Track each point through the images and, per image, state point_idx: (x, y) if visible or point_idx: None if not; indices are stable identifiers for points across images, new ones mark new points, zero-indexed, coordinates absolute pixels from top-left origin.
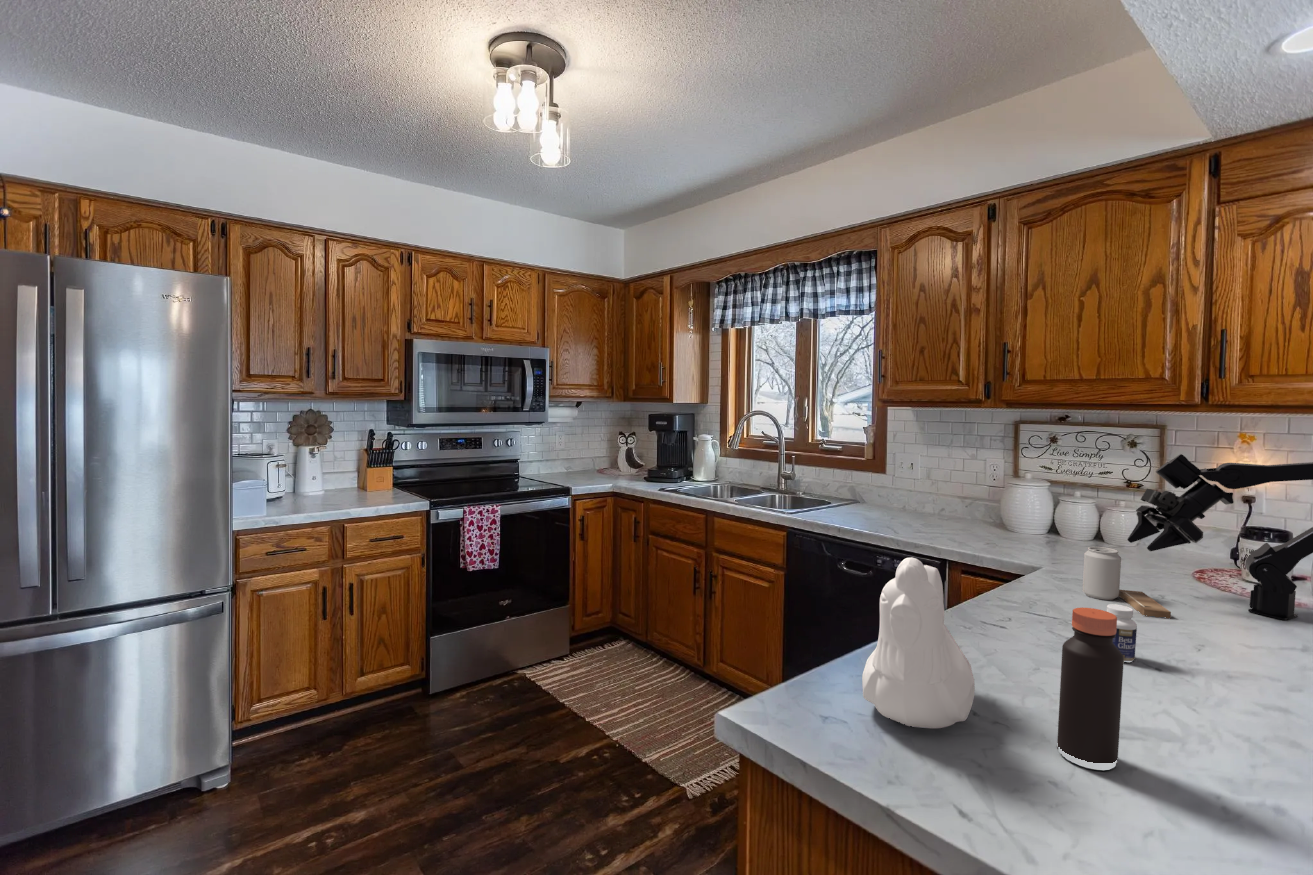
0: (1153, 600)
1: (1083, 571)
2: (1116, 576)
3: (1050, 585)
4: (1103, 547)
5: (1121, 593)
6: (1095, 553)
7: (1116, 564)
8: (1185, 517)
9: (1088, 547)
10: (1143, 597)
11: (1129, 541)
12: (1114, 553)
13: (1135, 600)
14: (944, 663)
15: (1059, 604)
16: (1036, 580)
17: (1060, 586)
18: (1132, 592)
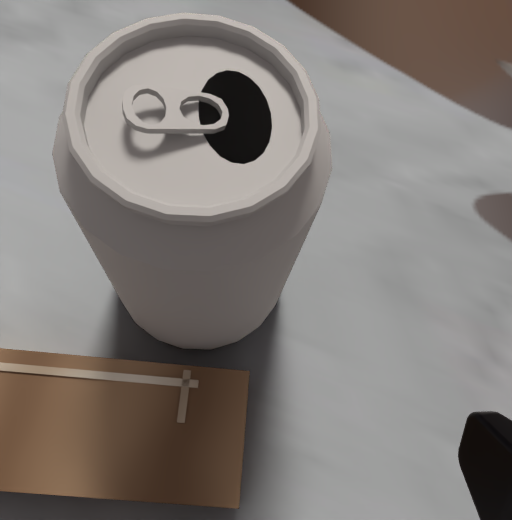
0: (32, 485)
1: (235, 140)
2: (102, 265)
3: (334, 127)
4: (300, 148)
5: (194, 367)
6: (129, 51)
7: (75, 218)
8: None
9: (256, 29)
10: (96, 450)
11: (464, 436)
12: (76, 157)
13: (10, 363)
14: None
15: (25, 58)
16: (403, 101)
17: (332, 161)
18: (200, 430)
